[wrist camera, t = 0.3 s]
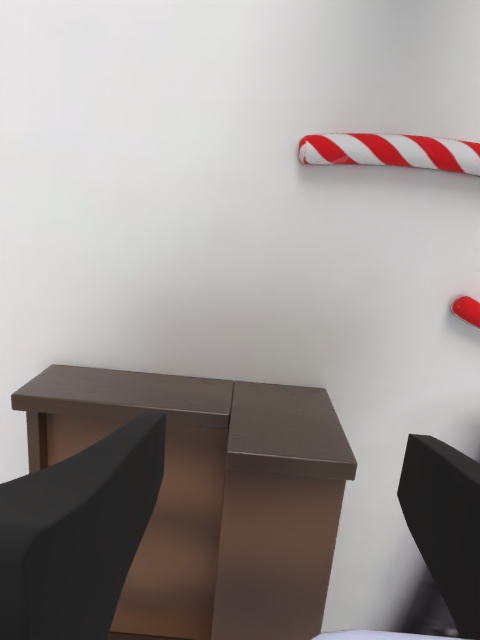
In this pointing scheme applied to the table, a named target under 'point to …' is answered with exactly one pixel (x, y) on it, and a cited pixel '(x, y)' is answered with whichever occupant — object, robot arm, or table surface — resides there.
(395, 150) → the candy cane
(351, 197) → the table surface
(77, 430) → the step shelf
